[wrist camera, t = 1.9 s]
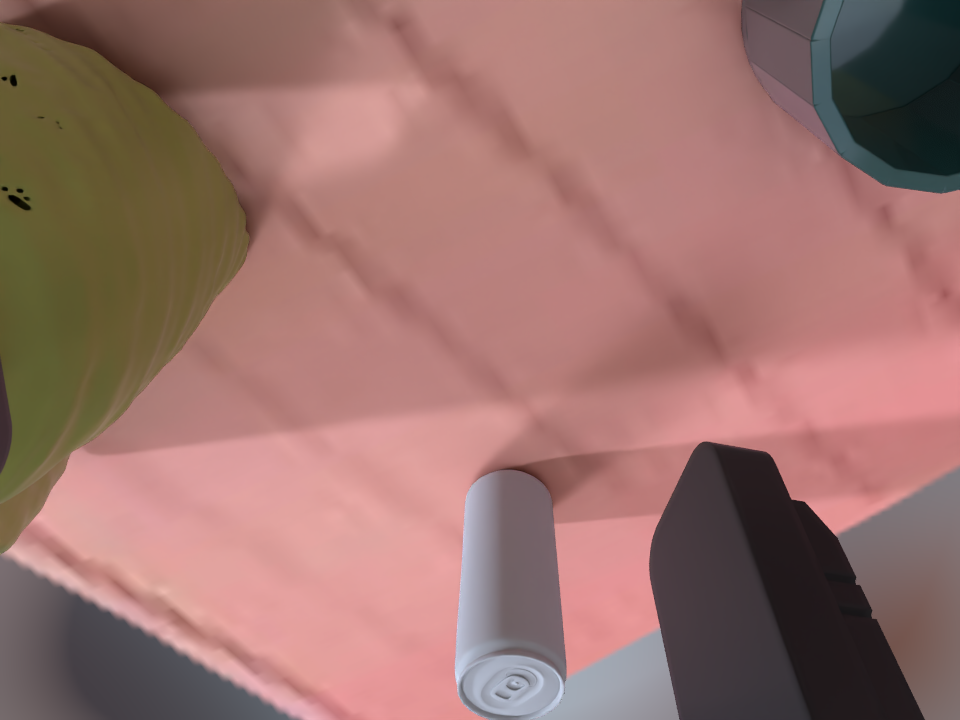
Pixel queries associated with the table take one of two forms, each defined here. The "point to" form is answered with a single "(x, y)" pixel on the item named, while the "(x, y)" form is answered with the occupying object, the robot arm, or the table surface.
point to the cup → (867, 81)
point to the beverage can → (509, 601)
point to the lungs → (94, 251)
